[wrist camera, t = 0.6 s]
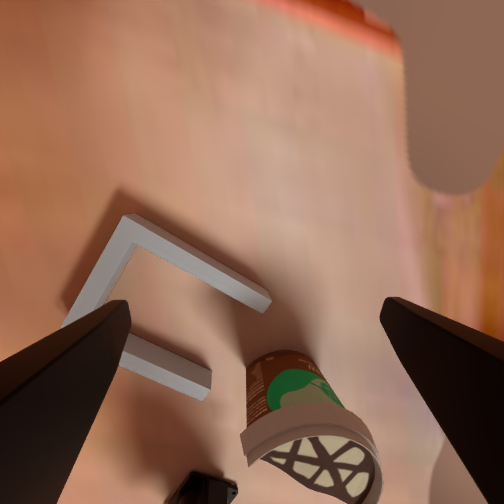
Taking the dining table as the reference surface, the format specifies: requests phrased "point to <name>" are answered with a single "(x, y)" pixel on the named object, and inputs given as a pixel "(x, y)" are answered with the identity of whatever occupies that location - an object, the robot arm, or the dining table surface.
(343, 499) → the food container
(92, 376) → the robot arm
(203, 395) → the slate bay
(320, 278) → the dining table surface
